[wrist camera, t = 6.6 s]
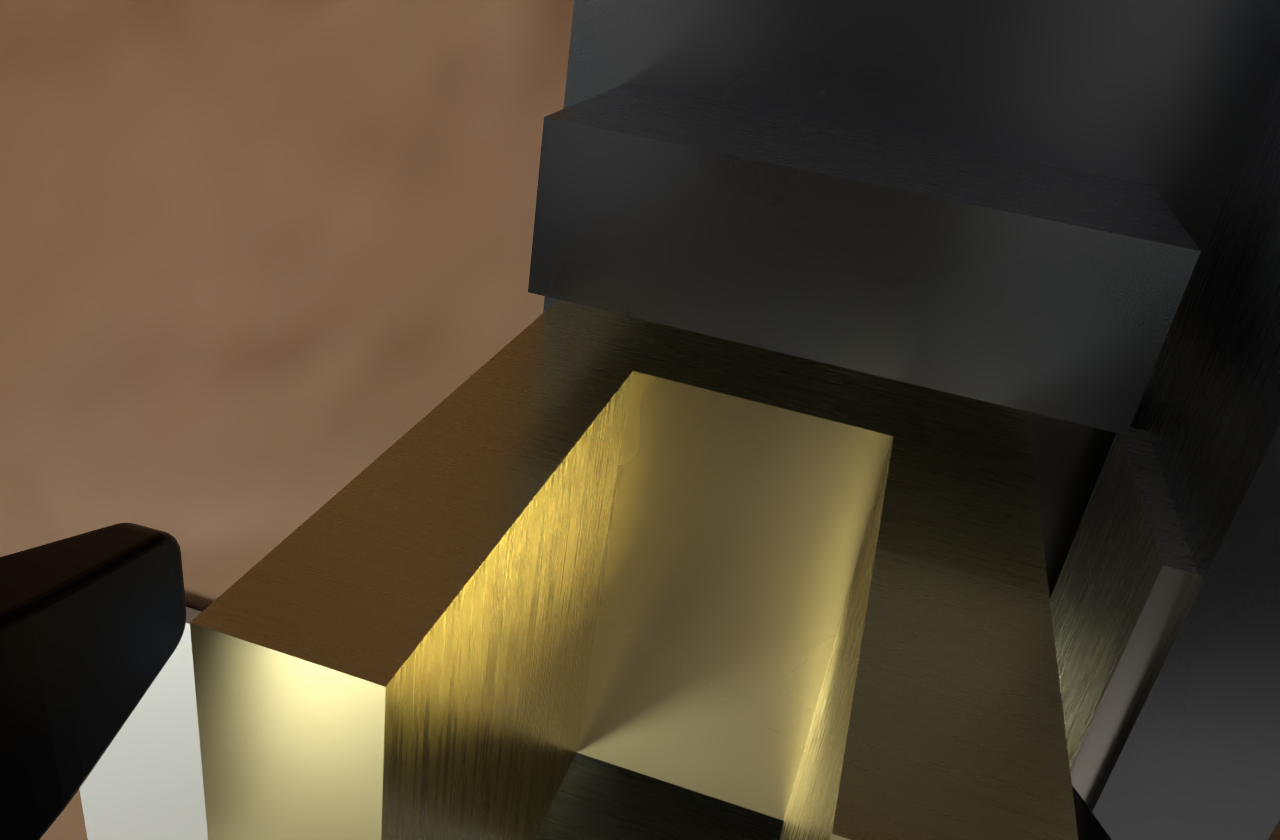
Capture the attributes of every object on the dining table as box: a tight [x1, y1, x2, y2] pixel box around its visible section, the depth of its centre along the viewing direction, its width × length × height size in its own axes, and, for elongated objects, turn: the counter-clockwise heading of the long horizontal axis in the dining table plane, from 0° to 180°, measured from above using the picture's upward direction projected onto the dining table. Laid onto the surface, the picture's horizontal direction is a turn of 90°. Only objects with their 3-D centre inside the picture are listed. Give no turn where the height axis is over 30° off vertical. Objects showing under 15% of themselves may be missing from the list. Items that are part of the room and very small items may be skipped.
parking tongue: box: [80, 607, 208, 840], centre depth 17 cm, size 8×6×1 cm
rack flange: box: [528, 0, 1280, 840], centre depth 11 cm, size 20×6×4 cm, turn 172°
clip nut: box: [190, 300, 1078, 840], centre depth 7 cm, size 4×4×5 cm
